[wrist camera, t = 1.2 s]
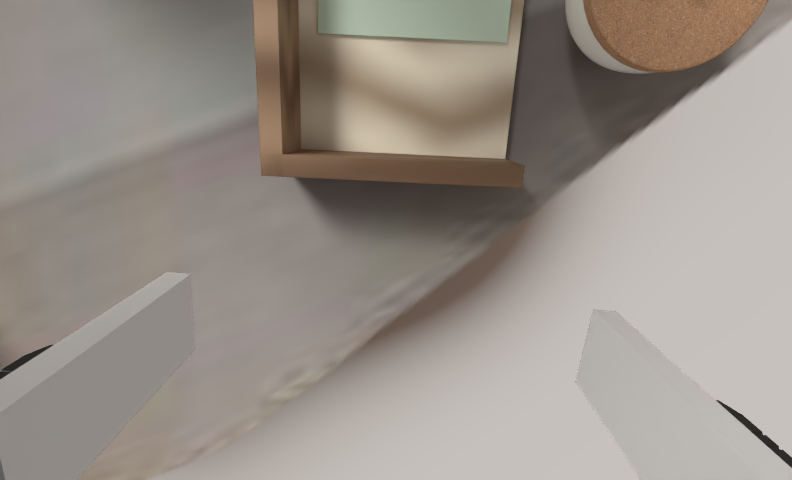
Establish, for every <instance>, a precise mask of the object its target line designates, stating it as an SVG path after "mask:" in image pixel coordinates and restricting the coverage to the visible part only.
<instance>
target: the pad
mask: <svg viewBox="0 0 792 480" xmlns="http://www.w3.org/2000/svg"><path fill="white" fill-rule="evenodd" d="M510 9H511V0H318V34H330V35H350V36H371V37H392V38H412V39H433V40H454V41H475V42H495V43H506V42H507V36H508V27H509V18H510Z"/></svg>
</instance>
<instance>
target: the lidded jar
mask: <svg viewBox="0 0 792 480" xmlns="http://www.w3.org/2000/svg"><path fill="white" fill-rule="evenodd" d="M767 2H768V0H565V12H566V18H567V24H568V27H569V30H570V33H571V35H572V37H573V39H574V41H575V43H576V44H577V46H578V47H579V48H580V50H581V51H582V52H583V53H584V54H585V55H586V56H587V57H588V58H589V59H590V60H592V61H593V62H595V63H597V64H598V65H600V66H603V67H605V68H607V69H610V70H614V71H618V72H623V73H637V74H646V73H655V72H656V73H665V72H673V71H680V70H685V69H688V68H692V67H695V66H699V65H701V64H703V63H705V62H708V61H710V60H712V59H714V58H715V57H717V56H719V55H720V54H722V53H723V52H725V51H726V50H728V49H729V48H730V47H731V46H732V45H734V44H735V43H736V42H737V41H738V40H740V39H741V37H742V36H743V35H744V34H745V33H746V32H747V31H748V30H749V29H750V28H751V27H752V25H753V24H754V23H755V21H756V20H757V18H758V17H759V16H760V14H761V13H762V11H763V9H764V7H765V6H766V4H767Z"/></svg>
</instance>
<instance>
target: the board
mask: <svg viewBox="0 0 792 480" xmlns="http://www.w3.org/2000/svg"><path fill="white" fill-rule="evenodd" d="M523 7H524V0H511V9H510V18H509V27H508V36H507V42H506V43H495V42H475V41H454V40H433V39H412V38H392V37H371V36H350V35H330V34H318V0H298V12H299V63H300V114H301V149H312V150H332V151H353V152H374V153H394V154H415V155H436V156H456V157H477V158H498V159H505V156H506V148H507V139H508V131H509V123H510V115H511V106H512V98H513V90H514V82H515V73H516V65H517V57H518V49H519V40H520V32H521V24H522V16H523Z"/></svg>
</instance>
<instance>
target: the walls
mask: <svg viewBox="0 0 792 480" xmlns="http://www.w3.org/2000/svg"><path fill="white" fill-rule="evenodd" d="M253 11H254V32H255V53H256V74H257V95H258V116H259V137H260V158H261V176H281V177H302V178H323V179H343V180H364V181H385V182H405V183H426V184H447V185H467V186H488V187H508V188H522V181H523V173H524V166H523V165H520V164H517V163H515V162H512V161H509V160H507V159H498V158H477V157H456V156H436V155H415V154H394V153H374V152H353V151H332V150H312V149H301V114H300V63H299V12H298V0H253Z"/></svg>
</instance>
